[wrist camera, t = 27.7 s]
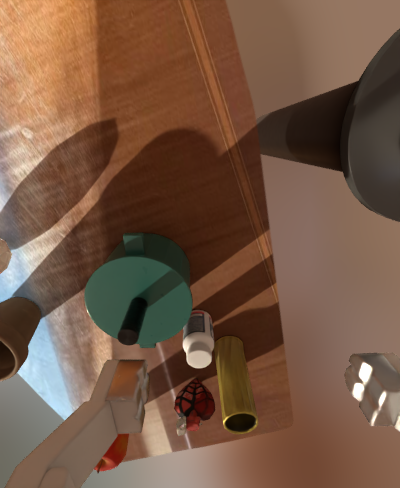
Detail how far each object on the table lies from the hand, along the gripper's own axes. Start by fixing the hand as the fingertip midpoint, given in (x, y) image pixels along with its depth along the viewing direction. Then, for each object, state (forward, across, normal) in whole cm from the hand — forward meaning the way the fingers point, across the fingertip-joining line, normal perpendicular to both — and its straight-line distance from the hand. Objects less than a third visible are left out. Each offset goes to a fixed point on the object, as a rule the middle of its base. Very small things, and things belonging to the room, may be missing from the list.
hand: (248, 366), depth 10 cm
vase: (+29, -4, +30) cm, 42 cm away
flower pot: (+29, +34, +20) cm, 49 cm away
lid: (+21, +10, +12) cm, 26 cm away
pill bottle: (+29, +2, +23) cm, 37 cm away
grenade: (+29, +3, +40) cm, 50 cm away
